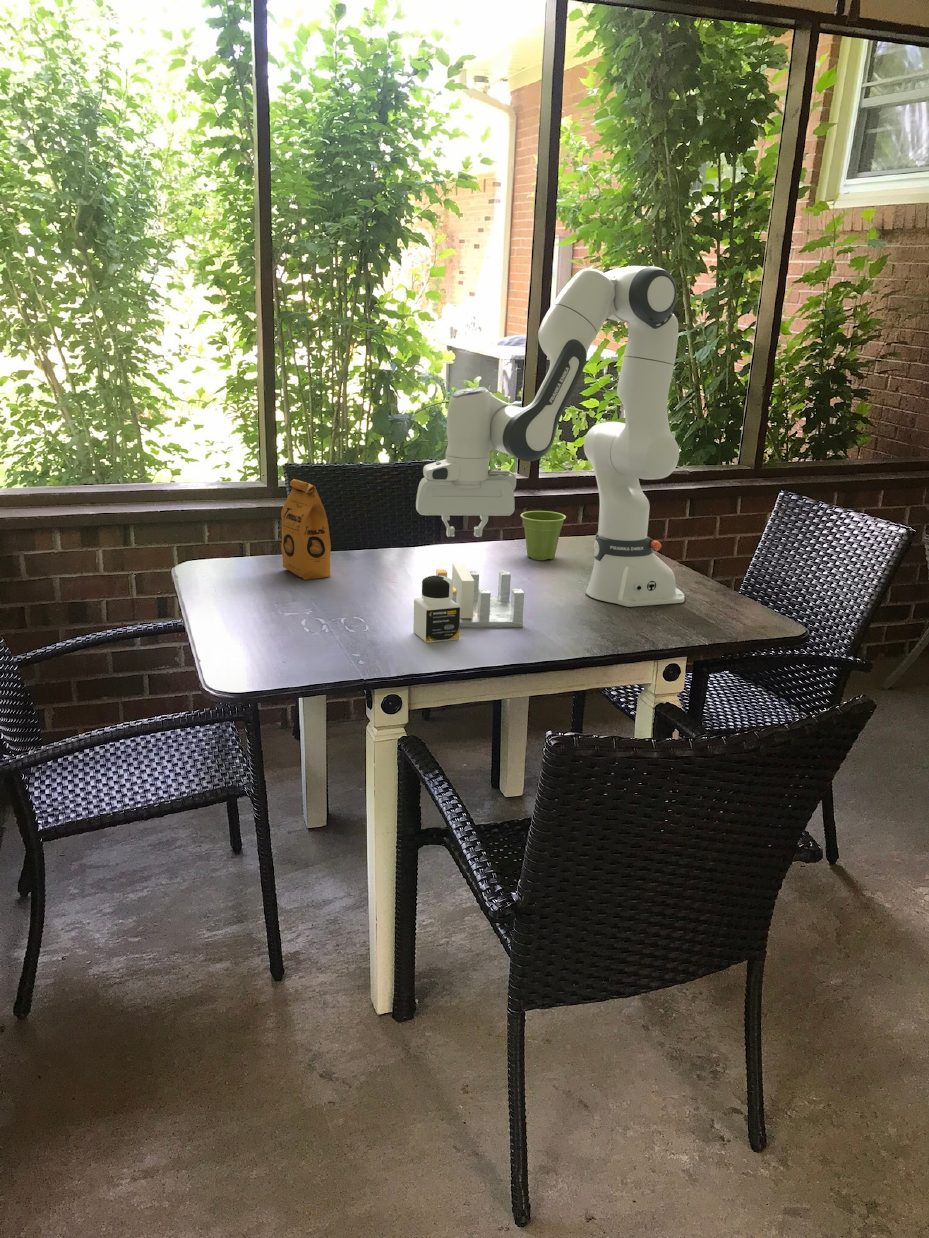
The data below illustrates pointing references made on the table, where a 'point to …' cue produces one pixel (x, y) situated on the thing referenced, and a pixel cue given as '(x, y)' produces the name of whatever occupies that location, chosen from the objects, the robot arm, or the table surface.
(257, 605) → the table surface
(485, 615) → the panel rack
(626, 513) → the robot arm
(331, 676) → the table surface
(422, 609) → the medicine bottle
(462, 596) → the panel
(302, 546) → the coffee package
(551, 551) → the plant pot
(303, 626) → the table surface
